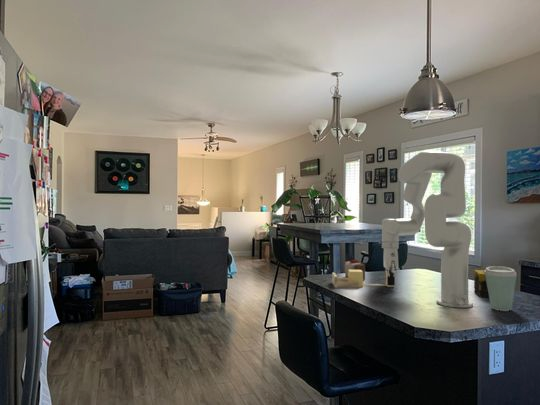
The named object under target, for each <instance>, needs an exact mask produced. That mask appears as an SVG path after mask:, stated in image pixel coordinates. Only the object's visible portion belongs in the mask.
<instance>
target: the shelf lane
mask: <svg viewBox="0 0 540 405" xmlns="http://www.w3.org/2000/svg"><path fill="white" fill-rule="evenodd" d="M331 273H332V274H331V276H332V277H331V279H332V280H331V281H332V285H333V287H334V288H335V289H336V288H337V289H339V288H341V289H345V288H346V289H359V288H360V287H359V282H348V277H338V275H337V274H336V272H331Z"/></svg>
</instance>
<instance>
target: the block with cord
mask: <svg viewBox="0 0 540 405" xmlns="http://www.w3.org/2000/svg"><path fill="white" fill-rule="evenodd" d="M387 276H388V271H386V270H385V278H386V283H385V284H384V283H364V281H363V271H362V270H348V277H347V278H348V282H359V288H364V286H370V287H371V286H376V287H377V286H378V287H379V286H380V287H383V286H385V287H387V288H389V287H390V288H394V287H395V285H387Z"/></svg>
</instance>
